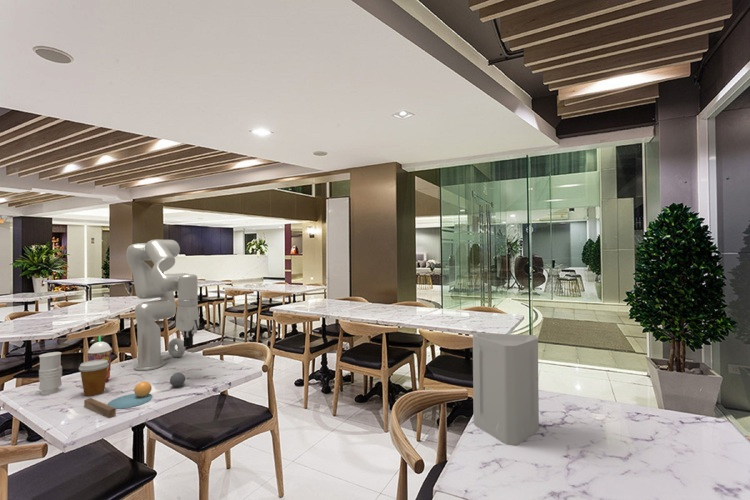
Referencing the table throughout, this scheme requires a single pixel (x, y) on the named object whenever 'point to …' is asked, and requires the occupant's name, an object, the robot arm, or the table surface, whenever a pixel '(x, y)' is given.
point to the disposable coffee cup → (93, 376)
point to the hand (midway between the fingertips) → (188, 346)
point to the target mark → (129, 401)
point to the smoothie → (101, 354)
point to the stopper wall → (100, 407)
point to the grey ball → (177, 379)
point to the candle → (50, 373)
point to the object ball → (142, 389)
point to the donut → (180, 345)
